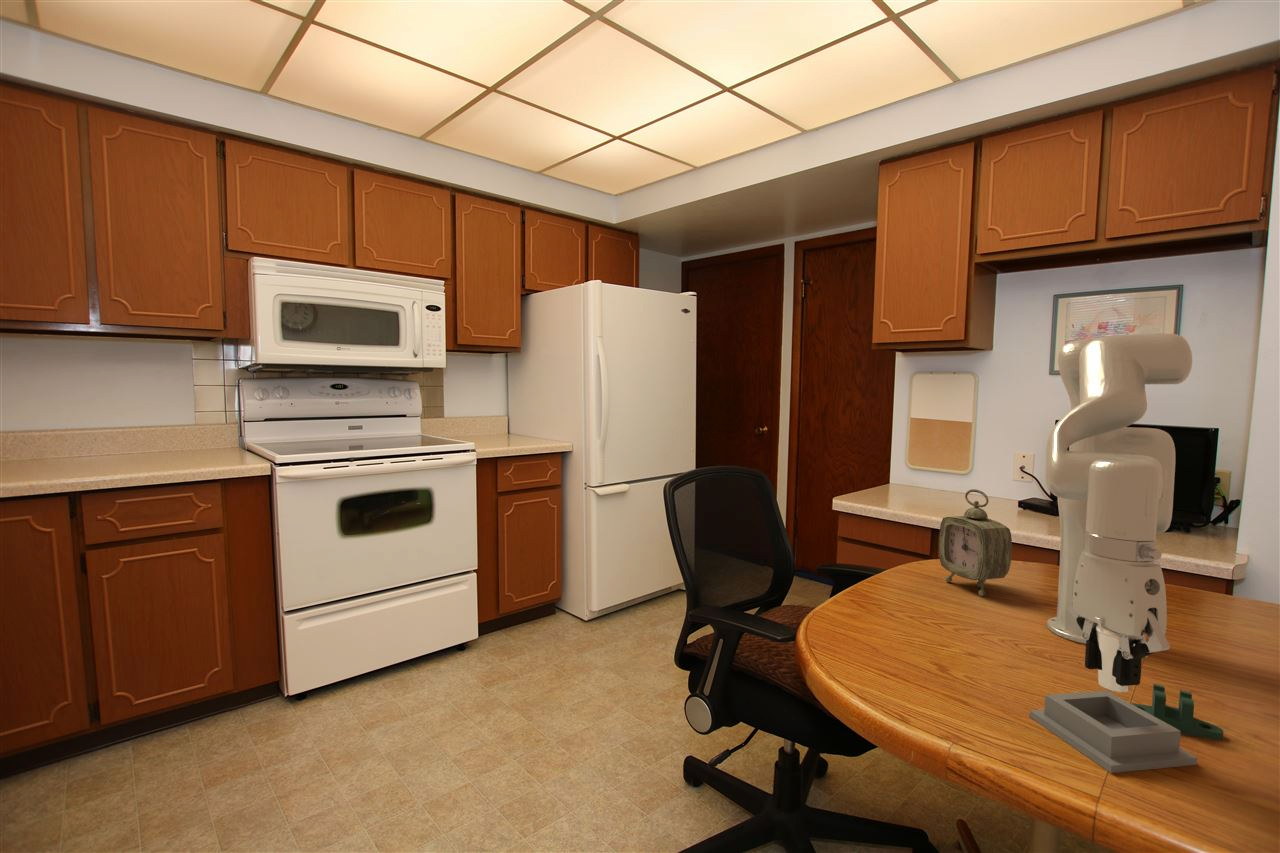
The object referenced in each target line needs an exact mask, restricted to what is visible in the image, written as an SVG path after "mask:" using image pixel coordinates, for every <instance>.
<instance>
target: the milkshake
mask: <svg viewBox="0 0 1280 853" xmlns="http://www.w3.org/2000/svg"><path fill="white" fill-rule="evenodd" d="M1096 619H1097V622H1098V625H1097V626H1096V634H1097V650H1098V669H1097V675H1098V676H1097V678H1098V680H1097V682H1098V684H1099V686H1101V687H1102V688H1104V689H1105V690H1107V691H1109V692H1114V693H1119V694H1121V693H1122V694H1123V693H1127V692H1128V691H1129V689H1130V688H1129V687H1130V686H1120V685H1119V684H1117V683H1116V666H1117V657H1118V656H1122V652H1121V643H1120V635H1119V633H1117V632H1115V631H1112V630H1110V629H1108V628H1105V627H1103V626H1101V623H1100V620H1099V619H1098V618H1096ZM1133 646H1135V640H1132V647H1133Z"/></svg>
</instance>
